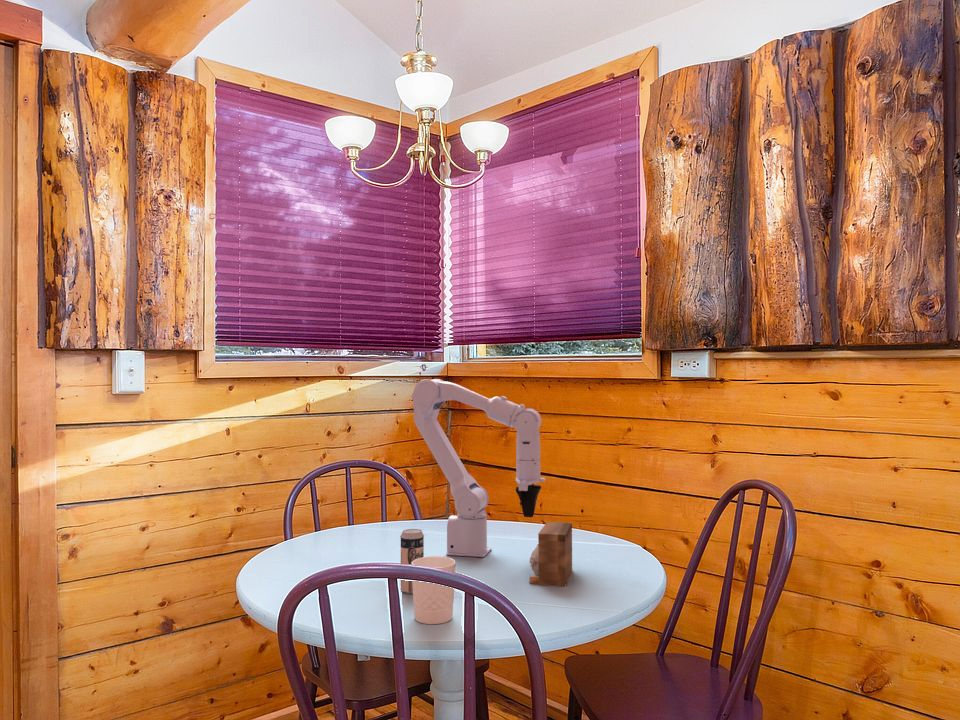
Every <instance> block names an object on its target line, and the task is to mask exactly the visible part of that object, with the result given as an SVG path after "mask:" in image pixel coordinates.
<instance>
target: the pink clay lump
mask: <svg viewBox="0 0 960 720" xmlns="http://www.w3.org/2000/svg"><path fill="white" fill-rule="evenodd" d="M529 563H530V567H531V569H532V573H534V575H535V576H539V549H538V544H537V545H536V547H535V548H534V549H533V551H531V554H530V557H529Z"/></svg>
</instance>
